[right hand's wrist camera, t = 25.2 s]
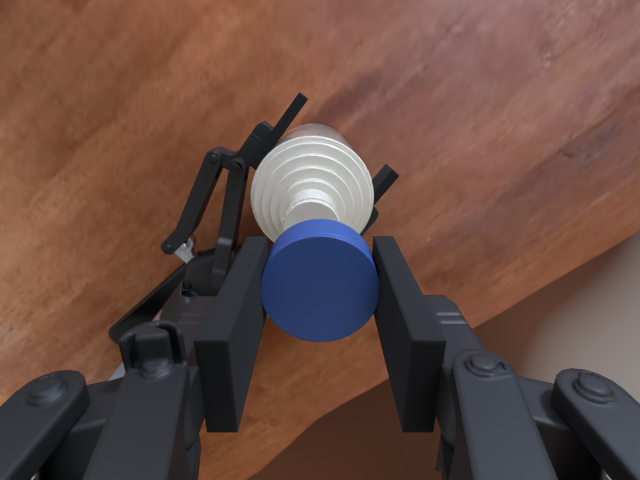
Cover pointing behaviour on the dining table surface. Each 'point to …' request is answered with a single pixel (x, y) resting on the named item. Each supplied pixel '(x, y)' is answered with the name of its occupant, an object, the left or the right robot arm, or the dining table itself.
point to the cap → (320, 281)
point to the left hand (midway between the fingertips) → (349, 134)
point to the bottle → (311, 182)
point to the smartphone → (148, 305)
